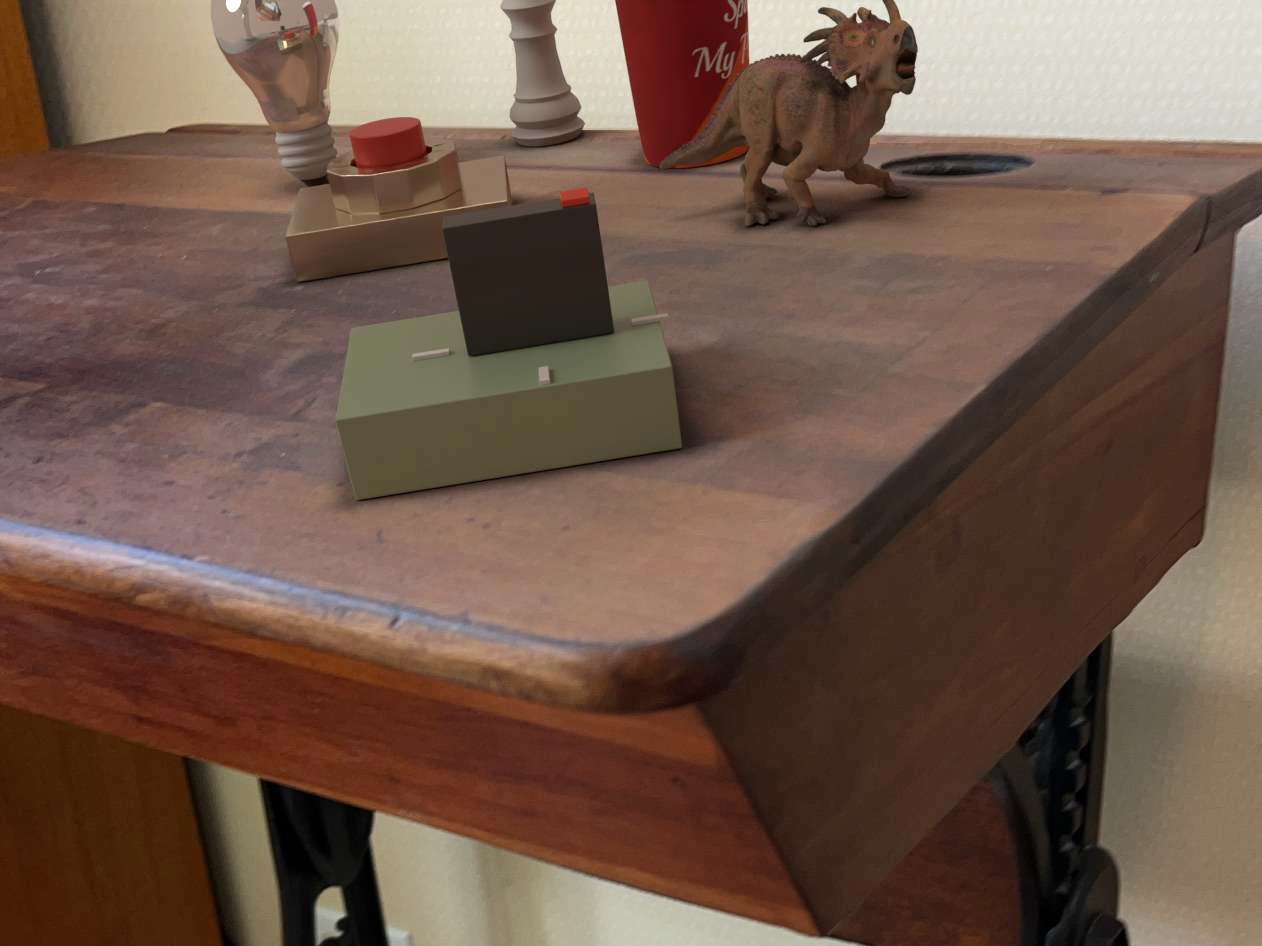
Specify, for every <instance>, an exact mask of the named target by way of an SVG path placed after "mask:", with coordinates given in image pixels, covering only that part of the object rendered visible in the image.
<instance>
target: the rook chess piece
mask: <svg viewBox="0 0 1262 946" xmlns="http://www.w3.org/2000/svg"><path fill="white" fill-rule="evenodd" d="M556 2H557V0H502V1H501V3H500V6H499V8H500V9H501V10H502V12H503V13H504V15H506V16H507V18H508V19H509V21H510V26H511V30H510V32H509V35H508V37H509V39H510V40H511V41H512V43H513V48H514V54H515V71H516V73H515V74H516V76H515V77H516V85H515V92H514V93H513V99H514V102H513V103H512V105H511V107H510V109H509V119H510V121H511V122H512V123H513V124H514V125H515V127H514V128H513V130H512V131H511V133H510V134H511V136H512V138H513V139H514V140H515V141H516V143H518V144H519V145H520V146H523V147H545V146H551V145H558V144H561V143H564V142H568V141H571V140H573V139H575V138H578V137H579V136H580V134H582V131H583V129H584V127H585V124H586V122H585V121H584V120H583V119H582V118H580V117H579V116H578V115H579V113H580V111H581V109H582V105H581V102H580V100H579V99H578V97H577V96H576V95H575V94H574V93H573V92H572V87H571V84H570V83H568V82H567V80H566V77H565V75H564V72H563V68H562V63H561V61H560V57H559V53H558V49H557V42H556V36H555V35H556V33H557V31H558V28H557V26H556V25H554V23H553V20H552V19H553V18H552V11H553V9H554V7H555V4H556Z"/></svg>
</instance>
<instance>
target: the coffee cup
mask: <svg viewBox="0 0 1262 946" xmlns="http://www.w3.org/2000/svg"><path fill="white" fill-rule="evenodd" d="M748 1H749V0H614V3H615V7H616V14H617V19H618V24H619V31H620V36H621V41H622V42H621V43H622V47H623V53H624V59H625V63H626V64H625V65H626V70H627V75H628V76H627V77H628V81H629V86H630V93H631V98H632V103H633V109H634V112H635V118H636V124H637V129H638V134H639V139H640V146H641V148H642V153H643V158H644V160H645V163H646V164H648V165H649V166H652V167H656V168H660V165H661V162H662V161H663V160H664V159H665V157H668V156H669V155H670V154H672V153H673V152H675V151H677V150H678V149H679V148H682V146H683V145H684V144H688V142H690V141H694V139H695V138H697V137H698V134H700V133H701V132H702V131H703V130H704V127H705V126H706V125H707V123H708V121H709V120H711V119H710V118H711V116H712V115H714V110H716V109H717V108H716V106H717V105H718V104H720V101H721V99H722V98H723V94H724V93H726V92H727V89H729V88H730V85H729V84H730V83H734V81H733V79H734V78H737V74H738V73H739V74H741V70H742V69H744V70H745V69H746V66H749V65H750V64H751V63H750V40H749V39H750V38H749V36H750V35H749V5H748V4H749V3H748ZM749 149H750V147H748V146H739V147H735V148H733V149H731V150H729V151H727V152H726V153H724V154H722V155H720V156H718V157H715V158H714V159H712V160H710V161H708V162H706V163H702V164H696V165H678V166H672V167H670V168H669V169H689V168H697V167H703V166H710V165H714V164H718V163H722V162H726V161H730V160H732V159H735V158H738V157H740V156H743V155H744V154H745V153H747V152H748V151H749Z"/></svg>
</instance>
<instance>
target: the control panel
mask: <svg viewBox="0 0 1262 946" xmlns="http://www.w3.org/2000/svg"><path fill="white" fill-rule="evenodd" d="M608 291H609V298H610V305H611V312H612V318H613V325H614V333H609V334H603V335H597V336H591V337H584V338H578V339H572V340H566V341H559V342H553V343H547V344H541V345H535V346H528V347H522V348H516V349H510V350H504V351H497V352H491V353H485V354H479V355H473V356H468V353H467V348H466V344H465V339H464V334H463V329H462V324H461V319H460V314H459V310H455V311H448V312H441V313H435V314H430V315H424V316H418V317H412V318H404V319H399V320H393V321H386V322H380V323H374V324H367V325H362V326H356V327H351V329H350V333H349V340H348V344H347V350H346V357H345V362H344V363H345V364H344V368H343V372H342V373H343V375H342V380H341V384H340V385H341V387H340V390H339V391H340V392H339V398H338V404H337V410H336V414H335V426H336V428H337V432H338V436H339V440H340V444H341V448H342V451H343V456H344V458H345V459H344V460H345V463H346V467H347V471H348V475H349V479H350V483H351V487H352V490H353V494H354V498H355V500H356V501H359V500H366V499H372V498H379V497H384V496H385V497H386V496H391V495H398V494H403V493H404V494H405V493H409V492H416V491H422V490H429V489H434V488H441V487H448V486H454V485H460V484H466V483H473V482H478V481H479V482H480V481H484V480H485V481H486V480H490V479H498V478H503V477H509V476H516V475H523V474H528V473H535V472H540V471H546V470H547V471H548V470H553V469H559V468H566V467H572V466H579V465H585V464H591V463H598V462H604V461H609V460H617V459H623V458H628V457H635V456H642V455H648V454H654V453H661V452H667V451H671V450H678V449H682V448H683V442H682V436H681V435H682V434H681V426H680V418H679V411H678V410H679V409H678V401H677V395H676V385H675V378H674V377H675V376H674V369H673V363H672V360H671V357H670V353H669V350H668V345H667V343H666V339H665V336H664V332H663V328H662V325H661V322H665V321H669V320H670V316H669V312H664V313H658V310H657V306H656V303H655V299H654V296H653V292H652V289H651V285H650V281H649V280H641V281H640V280H639V281H635V282H628V283H622V284H615V285H608Z"/></svg>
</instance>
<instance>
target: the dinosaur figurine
mask: <svg viewBox="0 0 1262 946" xmlns="http://www.w3.org/2000/svg"><path fill="white" fill-rule="evenodd" d="M881 1H882V3H883V5H885V9H886V11H887V15H888V18H889V21H887V20H885V19H881V18H879V17H878V16H877V15H876V14H873V12H872V9H868V8H866V7H864V6H860V7H859V8H858V9H857V11H856V12H854V13H853V14H851V16H849V17H848V16H847V15H846V14H845V13H843V11H841V10H839V9H836V8H833V7H826V6H822V7H820V8H818V9H817V13H818V14H819V15H823V16H826V17H827V18H829V19H830V20H831V21H833V22H834V23H835V24H836V25H834V26H833V27H824V28H818V29H816V30H814V31H812V32H810V33H809V34H808V35H806V36H805V37H804V38H803V43H810V42H817V41H819V42H820V41H822V42H820V43H818V44H817V45H815V46H814V47H813V48H811V49H810V50H809V51H807V52H806V54H804V55H802V56H801V54H796V53H792V54H791V53H786V54H784V53H781V54H779V53H775V55H769V56H768V57H765V58H760V59H759V60H755V61H754V62H752V63H749V64H750V65H749V66H746V69H745V70H744V69H742V70H741V74H739V73H738V74H737V78H734V79H733V81H734V83H730V84H729V85H730V88H729V89H727V92H726V93H724V94H723V98H722V99H721V101H720V104H718V105H717V106H716V108H717V109H716V110H714V115H712V116H711V118H710V119H711V120H709V121H708V123H707V125H706V126H705V127H704V130H703V131H702V132H701V133H700V134H698V137H697V138H695V139H694V141H690V142H688V144H684V145H683V146H682V148H679V149H678V150H677V151H675V152H673V153H672V154H670V155H669V156H668V157H665V159H664V160H663V161H662V162H661V165H660V167H659V169H660V170H661V171H665V170H667V169H671V168H670V167H672V166H678V165H696V164H702V163H706V162H708V161H710V160H712V159H714V158H715V157H718V156H720V155H722V154H724V153H726V152H727V151H729V150H731V149H733V148H735V147H739V146H748V147H750V148H749V150H748V151H747V152H746V154H745V156H744V162H743V163H742V164H741V165H740V167H739V168H740V169H739V176H740V178H741V180H742V182H743V188H742V191H743V195H744V200H745V212H746V213H745V214H746V215H745V217H744V225H745V226H747V227H749V226H752V225H754V224H755V223H759V224H761V225H766V224H768V222H769V220H776V219H778V218H779V216H780V214H779V212H778V211H777V210H775V209H773V208H770V207H769V202H768V201H767V199H774V198H776V195H778V193H779V192H778V190H777V189H776V188H774V187H770V186H768V185H767V184H766V183H764V182H763V179H762V178H763V177H764V176H765V174H766V173H767V171H768V169H769V167H770V166H771V163H774V164H775V165H779V166H783V167H785V168H784V170H783V171H782V179H783V182H784V184H785V186H786V188H787V189H788V191H789V193H791V194H792V196H793V197H794V199H795V200H796V202H797V205H798V209H799V210H798V212H797V218H800V220H801V223H805V222H806V223H807V224H808V226H812V227H816V226H817V225H818V224H826V223H827V220H828V219H829V218H830V215H829V214H827V213H825V212H820V211H819V210H818V209H817V207H816V204H815V200H814V198H813V195H812V193H811V189H810V187H809V184H808V182H807V181H806V180H807V179H809V178H811V177H812V176H813V175H814V174H815V173H816V171H817V170H819V171H821V172H825V173H826V172H827V173H830V172H837V171H840V172H843V176H844V178H845V179H846V180H848V181H850V182H852V183H854V184H855V185H861V186H862V185H872V186H873V185H874V186H875V187H877V188H878V189H879V188H880V189H883V191H884V193H886V194H887V195H888V196H889V197H891V198H902V197H907V196H909V193H910V192H912V189H911V188H910V187H909V186H907V187H906V185H902V184H898V185H897V184H895V183H894V181H893V179H892V178H891V174H890V172H889V171H888V170H885V169H880V168H877V167H875V166H873V165H871V164H869V163H865V160H864V158H865V157H866V156H867V154H868V152H869V148H870V145H871V139H872V138H873V137H874V136H875V135H876V134H877V133H879V132H880V131H881V130H882V129H883V128H884V126H885V124H886V115H887V114H888V111H889V109H890V108H891V106H892V102H893V101H892V100H893V96H894V95H896V94H900V93H902V94H904V95H906V96H909V95H911V94H912V93H913V92H914V88H915V84H916V82H917V81H916V80H917V77H916V72H915V69H916V61H917V58H918V53H919V46H918V43H917V40H916V39H917V38H916V34H915V31H914V28H913V26H912V25H910V24H909V23H908V22H907V21H906V20H903V19H902V17H901V14H900V10H899V7H898V5H897V3H896V1H895V0H881ZM857 17H858V18H859V20H860V21H861V22H858V20H857ZM819 56H820V57H819ZM817 57H819V58H818V59H815V58H817ZM826 62H827V65H822V64H824V63H826ZM854 76H855V82H856V85H853V86H850V85H849V83H848V82H847V80H848V79H850V78H852V77H854Z"/></svg>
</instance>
